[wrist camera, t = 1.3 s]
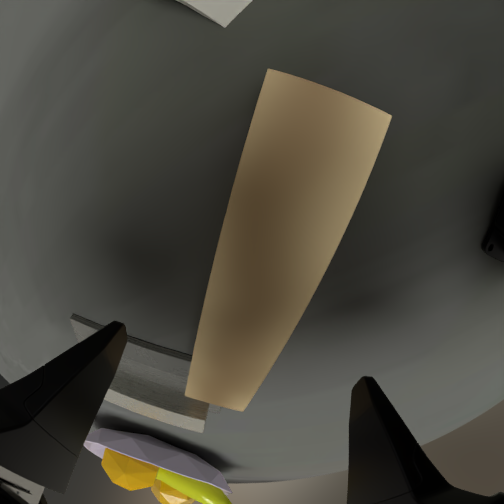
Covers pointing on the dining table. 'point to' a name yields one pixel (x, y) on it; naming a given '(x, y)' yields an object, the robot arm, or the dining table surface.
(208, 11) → the crown molding
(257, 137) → the oak batten
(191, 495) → the fruit bowl
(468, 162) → the dining table surface
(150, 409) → the fulcrum stand
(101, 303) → the dining table surface
